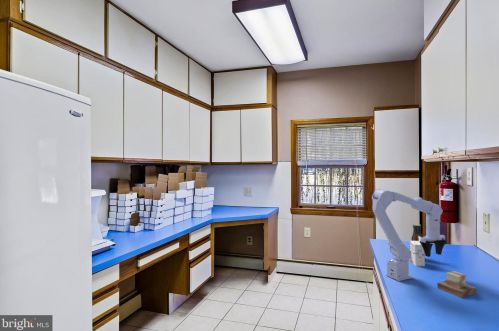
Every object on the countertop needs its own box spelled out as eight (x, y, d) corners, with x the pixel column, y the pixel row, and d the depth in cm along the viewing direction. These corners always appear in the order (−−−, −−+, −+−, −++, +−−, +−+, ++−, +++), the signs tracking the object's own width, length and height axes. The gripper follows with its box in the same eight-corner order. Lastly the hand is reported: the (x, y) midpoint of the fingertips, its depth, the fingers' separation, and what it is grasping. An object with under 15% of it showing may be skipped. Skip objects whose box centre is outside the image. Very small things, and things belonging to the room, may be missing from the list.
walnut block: (460, 299, 120) (460, 291, 120) (437, 289, 130) (437, 282, 130) (476, 294, 124) (476, 287, 124) (452, 285, 133) (452, 279, 133)
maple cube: (458, 288, 124) (458, 276, 124) (446, 284, 128) (446, 272, 128) (465, 286, 126) (465, 274, 126) (453, 281, 130) (453, 270, 130)
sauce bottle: (420, 256, 173) (419, 223, 173) (426, 260, 167) (426, 225, 167) (409, 256, 173) (408, 223, 173) (415, 260, 167) (415, 225, 166)
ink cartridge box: (409, 260, 166) (409, 235, 166) (419, 261, 165) (419, 235, 165) (415, 266, 158) (414, 239, 158) (425, 266, 157) (424, 239, 157)
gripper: (430, 230, 137) (430, 259, 137) (451, 228, 142) (451, 255, 142) (416, 227, 143) (416, 255, 143) (437, 225, 148) (437, 251, 149)
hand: (433, 255), depth 143 cm, fingers open, 7 cm apart
